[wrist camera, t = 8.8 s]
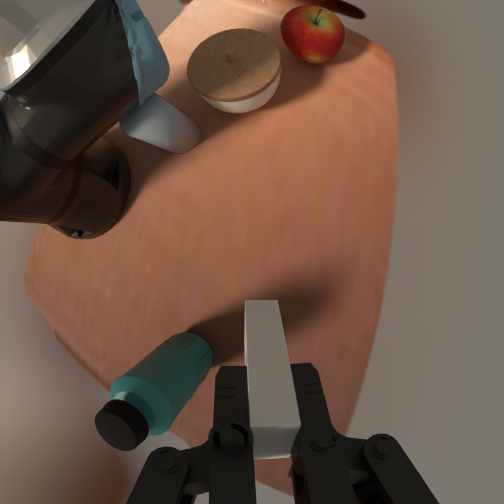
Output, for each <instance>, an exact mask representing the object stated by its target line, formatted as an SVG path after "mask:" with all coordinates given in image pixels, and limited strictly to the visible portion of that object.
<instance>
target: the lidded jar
mask: <svg viewBox="0 0 504 504" xmlns="http://www.w3.org/2000/svg"><path fill="white" fill-rule="evenodd" d="M187 75H188V78H189V81H190V83H191V84H192V86H193V87H194V88H195V90H196V91H197V92H198V93H199V94H200V95H201V96H202V98H203V99H204V100H205V101H206V102H208V103H209V104H210V105H212V106H213V107H215V108H217V109H219V110H221V111H224V112H229V113H246V112H250V111H253V110H256V109H258V108H260V107H261V106H263V105H264V104H266V103H267V102H268V101H269V100H270V99H271V97H272V96H273V95H274V93H275V92H276V90H277V87H278V85H279V82H280V76H281V54H280V50H279V48H278V46H277V44H276V43H275V42H274V41H273V40H272V39H271V38H270V37H268V36H267V35H265V34H263V33H261V32H258V31H255V30H251V29H230V30H225V31H222V32H219V33H217V34H214V35H212V36H210V37H209V38H207V39H206V40H204V41H203V42H202V43H200V44H199V45H198V47H197V48H196V49H195V50H194V51H193V53H192V55H191V57H190V58H189V61H188V65H187Z"/></svg>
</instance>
